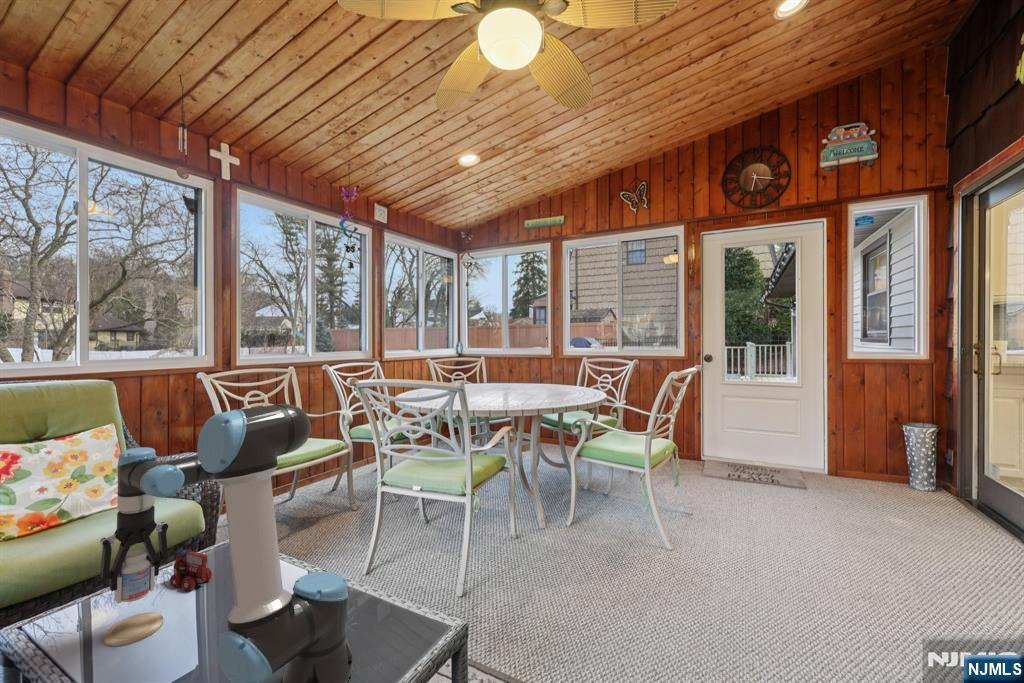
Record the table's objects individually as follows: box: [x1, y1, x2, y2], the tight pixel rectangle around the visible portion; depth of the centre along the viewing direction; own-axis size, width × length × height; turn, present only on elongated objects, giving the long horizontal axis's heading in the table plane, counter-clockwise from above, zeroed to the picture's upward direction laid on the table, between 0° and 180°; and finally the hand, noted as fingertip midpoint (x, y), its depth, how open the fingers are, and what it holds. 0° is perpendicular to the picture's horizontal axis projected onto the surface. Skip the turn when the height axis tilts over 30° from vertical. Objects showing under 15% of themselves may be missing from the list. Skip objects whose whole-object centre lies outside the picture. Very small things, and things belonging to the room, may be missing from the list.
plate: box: [102, 612, 164, 647], centre depth 117 cm, size 12×12×1 cm
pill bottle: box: [119, 549, 151, 603], centre depth 116 cm, size 6×6×11 cm
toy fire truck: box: [169, 549, 213, 592], centre depth 138 cm, size 7×12×10 cm, turn 72°
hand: (134, 594), depth 116 cm, fingers closed on pill bottle, 6 cm apart
